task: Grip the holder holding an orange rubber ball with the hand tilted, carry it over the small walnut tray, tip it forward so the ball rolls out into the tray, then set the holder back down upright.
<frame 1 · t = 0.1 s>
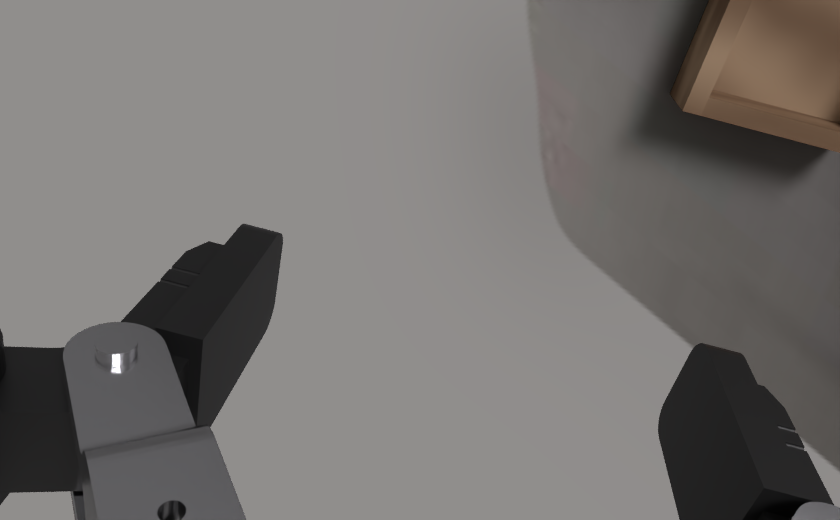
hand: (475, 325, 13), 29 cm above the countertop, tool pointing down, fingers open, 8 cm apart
tray: (807, 8, 36), on the countertop
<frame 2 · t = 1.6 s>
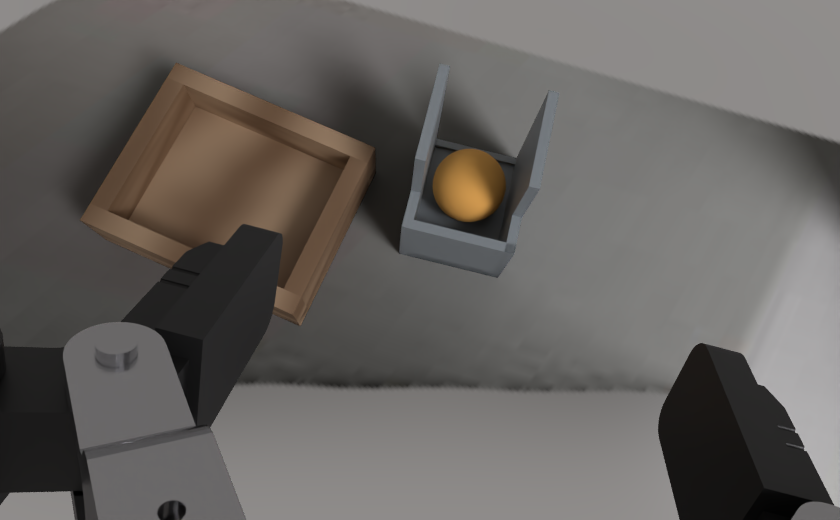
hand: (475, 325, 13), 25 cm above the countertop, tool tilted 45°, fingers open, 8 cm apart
tray: (244, 205, 39), on the countertop
ball: (469, 185, 37), point 3 cm above the countertop, tilted 12°, touching holder
holder: (461, 209, 40), on the countertop, touching ball
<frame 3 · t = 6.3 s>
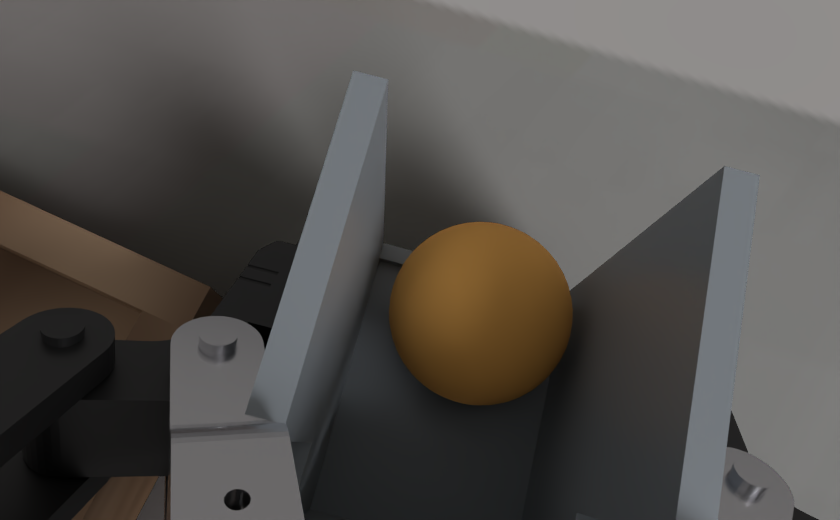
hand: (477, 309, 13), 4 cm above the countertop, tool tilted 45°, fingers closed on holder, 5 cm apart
ball: (479, 312, 15), point 3 cm above the countertop, tilted 58°, touching holder
holder: (439, 407, 17), on the countertop, touching ball, gripper
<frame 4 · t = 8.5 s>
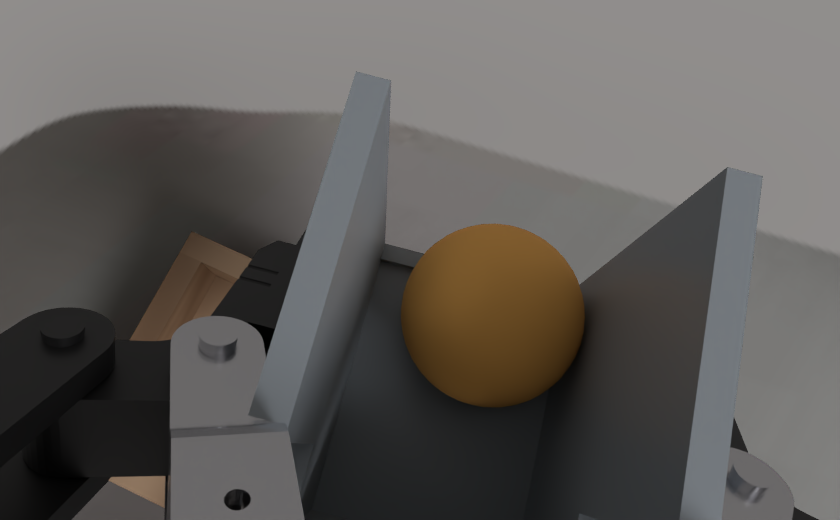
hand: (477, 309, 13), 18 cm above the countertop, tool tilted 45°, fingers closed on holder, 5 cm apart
tray: (278, 406, 30), on the countertop
ball: (491, 314, 15), point 16 cm above the countertop, tilted 60°, touching holder
holder: (440, 408, 17), point 14 cm above the countertop, touching ball, gripper
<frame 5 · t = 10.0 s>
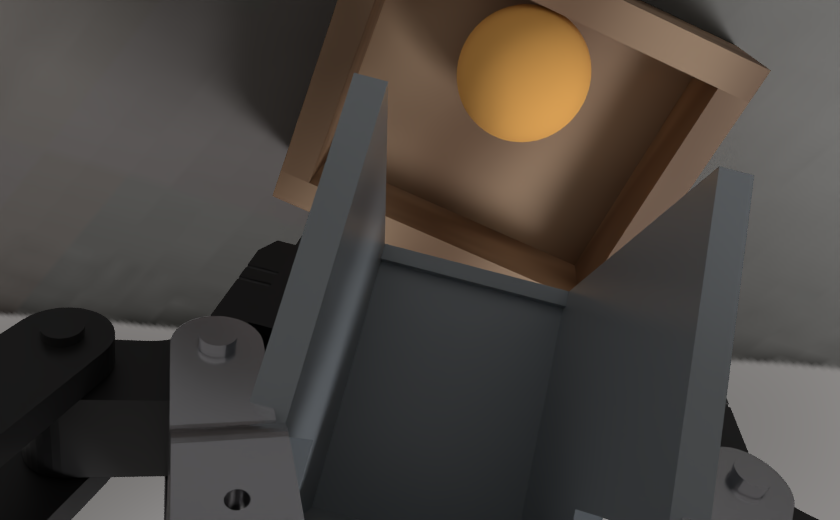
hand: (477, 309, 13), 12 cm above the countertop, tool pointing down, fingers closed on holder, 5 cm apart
tray: (501, 107, 24), on the countertop
ball: (523, 74, 20), point 3 cm above the countertop, tilted 122°, touching tray
holder: (440, 407, 17), point 11 cm above the countertop, tilted 45°, touching gripper
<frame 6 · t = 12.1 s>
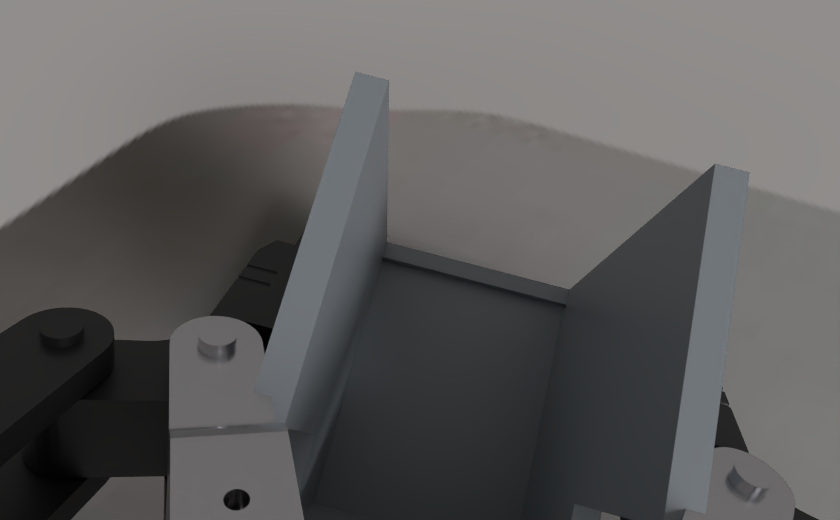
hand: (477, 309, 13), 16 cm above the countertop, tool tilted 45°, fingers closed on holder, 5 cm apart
holder: (441, 404, 17), point 12 cm above the countertop, touching gripper
when the fingers open (5 cm above the countertop, at t = 15.7 s): holder stays where it is, on the countertop.
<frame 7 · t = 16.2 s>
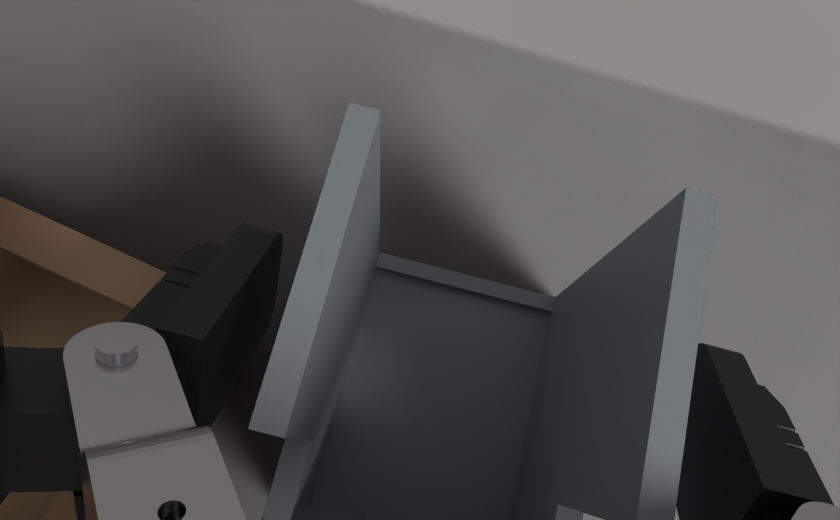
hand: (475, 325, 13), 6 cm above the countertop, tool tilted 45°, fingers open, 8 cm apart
holder: (433, 408, 18), on the countertop
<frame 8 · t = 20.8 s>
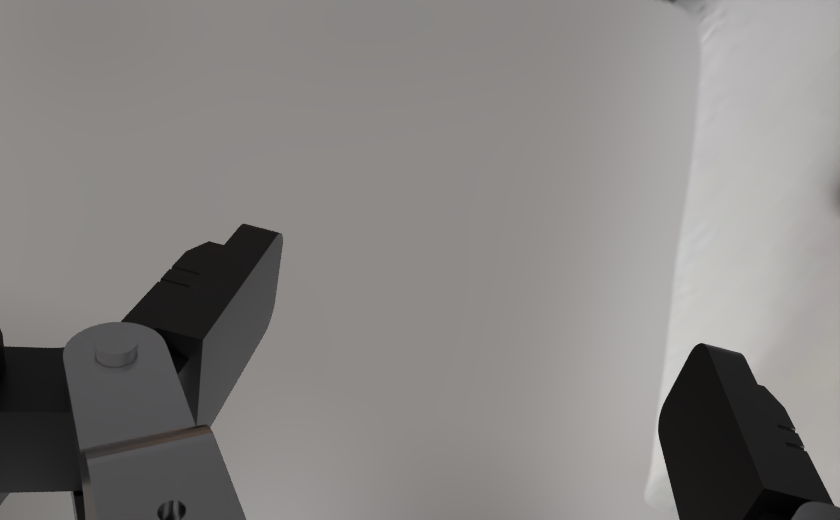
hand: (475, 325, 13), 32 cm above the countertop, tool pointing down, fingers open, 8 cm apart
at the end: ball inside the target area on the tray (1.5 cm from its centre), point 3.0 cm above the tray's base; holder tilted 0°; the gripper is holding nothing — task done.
